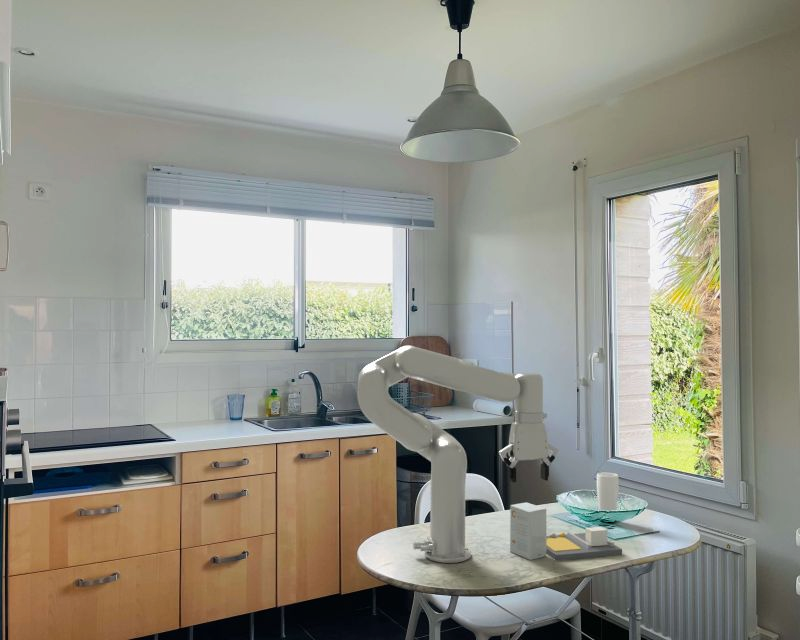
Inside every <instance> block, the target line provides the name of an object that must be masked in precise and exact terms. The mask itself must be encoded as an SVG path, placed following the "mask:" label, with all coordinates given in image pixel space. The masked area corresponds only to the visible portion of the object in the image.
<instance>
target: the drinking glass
mask: <svg viewBox="0 0 800 640" xmlns="http://www.w3.org/2000/svg"><path fill="white" fill-rule="evenodd" d="M619 478H620V477H619V474H618V473H614V472H606V471H605V472H604V471H602V472H597V473H596V494H597V495H596V497H597V505H598V506H597V507H598V510H599V509H600V510H617V508H618V499H619V498H618V497H619V488H620V486H619V484H620V482H619V481H620V480H619Z"/></svg>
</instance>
